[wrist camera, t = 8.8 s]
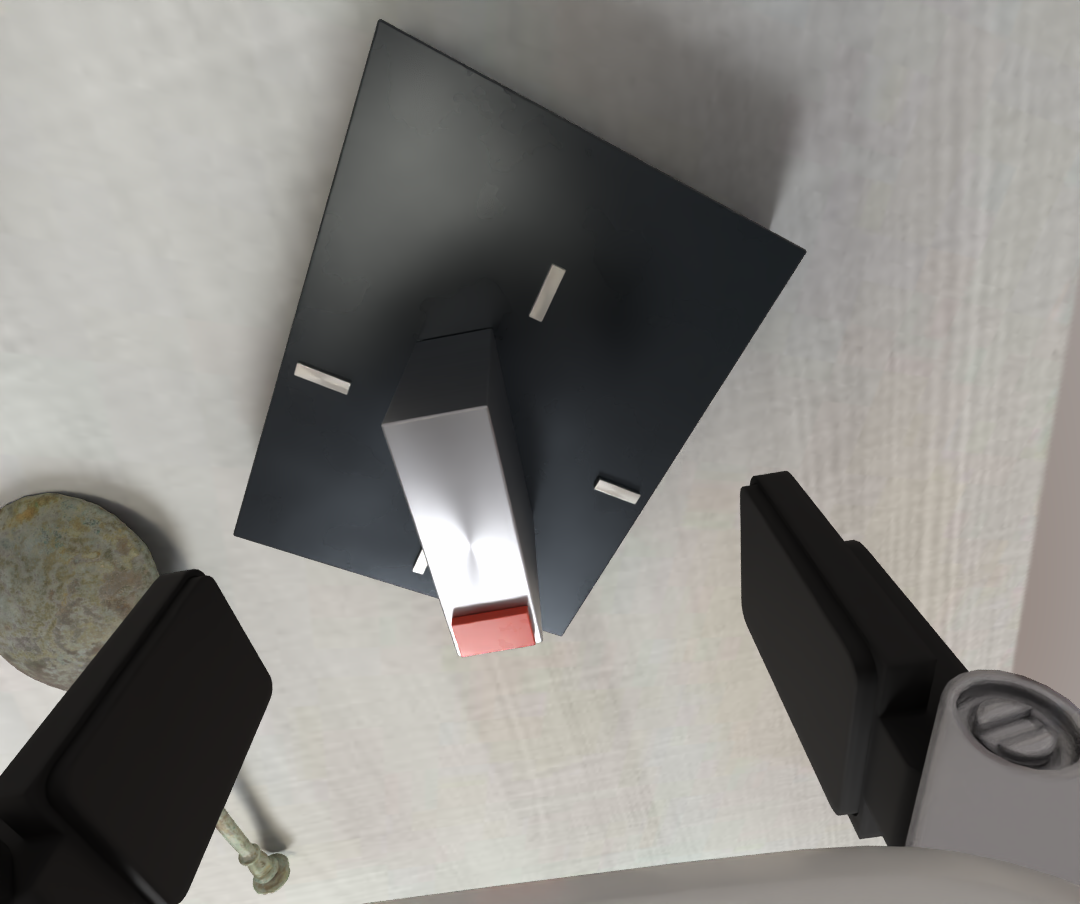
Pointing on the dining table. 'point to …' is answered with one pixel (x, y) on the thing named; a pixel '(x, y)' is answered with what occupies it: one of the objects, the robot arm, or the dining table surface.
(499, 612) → the tap handle
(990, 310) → the dining table surface
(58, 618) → the soupspoon
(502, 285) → the plate
